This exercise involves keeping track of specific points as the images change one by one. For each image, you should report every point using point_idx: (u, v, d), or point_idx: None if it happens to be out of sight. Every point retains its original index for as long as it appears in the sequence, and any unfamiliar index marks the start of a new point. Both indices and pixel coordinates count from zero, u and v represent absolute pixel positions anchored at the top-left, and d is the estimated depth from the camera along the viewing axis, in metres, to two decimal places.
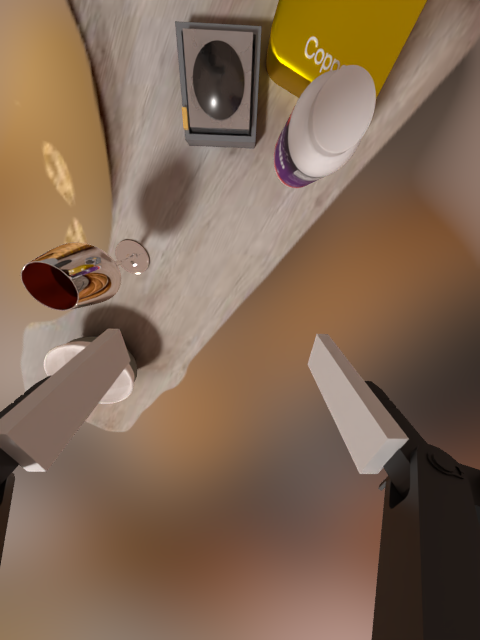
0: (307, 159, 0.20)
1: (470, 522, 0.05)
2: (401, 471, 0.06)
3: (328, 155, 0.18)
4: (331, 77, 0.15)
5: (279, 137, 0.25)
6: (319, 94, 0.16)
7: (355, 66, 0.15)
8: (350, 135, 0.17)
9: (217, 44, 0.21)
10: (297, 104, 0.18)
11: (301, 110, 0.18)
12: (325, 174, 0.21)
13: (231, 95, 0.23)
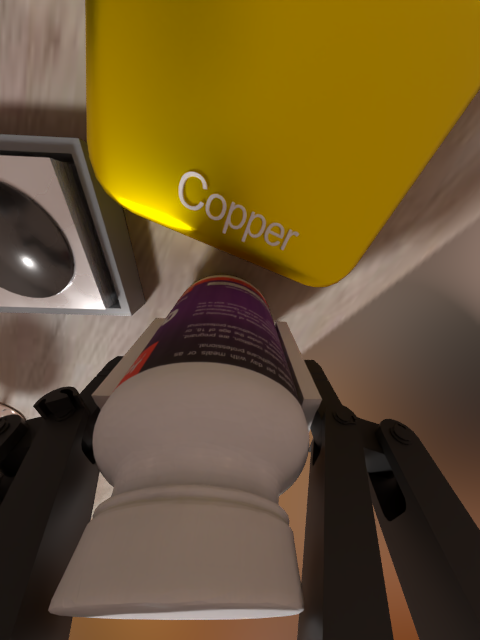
0: None
1: (359, 457, 0.06)
2: (318, 431, 0.08)
3: None
4: (70, 608, 0.03)
5: None
6: None
7: (172, 601, 0.03)
8: (230, 616, 0.05)
9: None
10: (93, 433, 0.06)
11: (98, 463, 0.06)
12: None
13: (49, 263, 0.11)
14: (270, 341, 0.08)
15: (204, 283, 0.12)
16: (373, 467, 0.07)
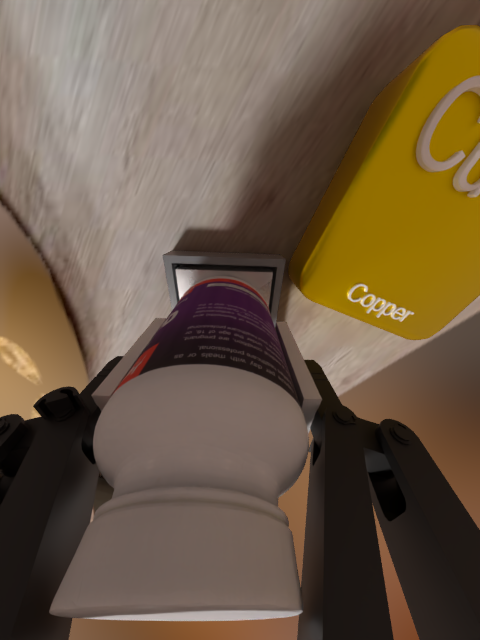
0: None
1: (359, 457, 0.06)
2: (318, 431, 0.08)
3: None
4: (71, 609, 0.03)
5: None
6: None
7: (172, 602, 0.03)
8: (230, 617, 0.05)
9: None
10: (94, 434, 0.06)
11: (98, 465, 0.06)
12: None
13: None
14: (269, 343, 0.08)
15: (204, 284, 0.12)
16: (373, 467, 0.07)
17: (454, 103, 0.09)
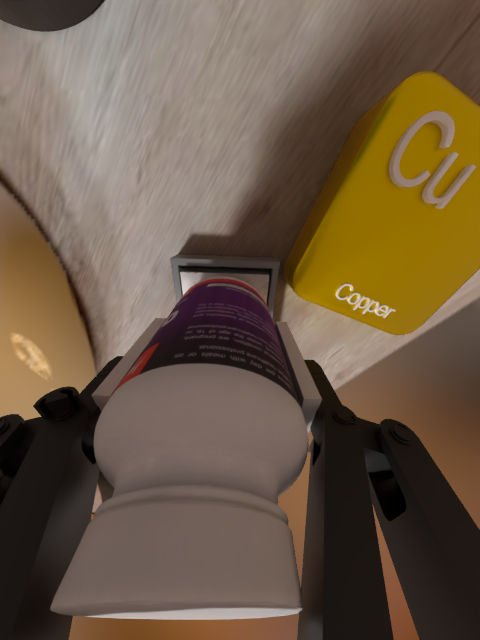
0: None
1: (359, 457, 0.06)
2: (318, 431, 0.08)
3: None
4: (72, 606, 0.03)
5: None
6: None
7: (172, 599, 0.03)
8: (230, 616, 0.05)
9: None
10: (94, 433, 0.06)
11: (99, 464, 0.06)
12: None
13: None
14: (269, 343, 0.08)
15: (204, 284, 0.12)
16: (373, 467, 0.07)
17: (418, 131, 0.11)
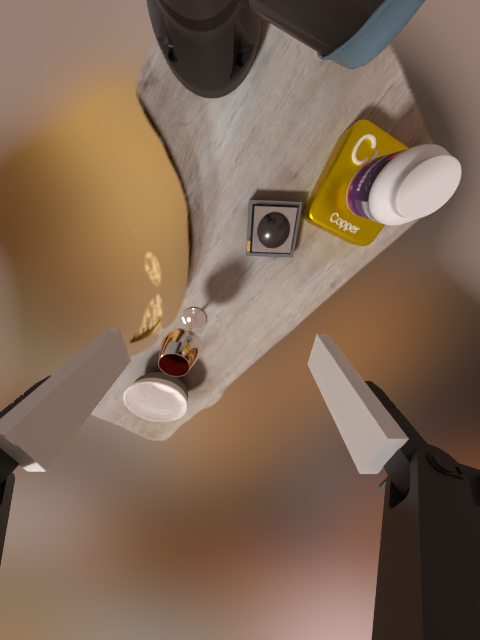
0: (379, 201, 0.22)
1: (470, 522, 0.05)
2: (401, 471, 0.06)
3: (395, 210, 0.21)
4: (440, 156, 0.18)
5: (372, 161, 0.26)
6: (424, 162, 0.18)
7: (458, 163, 0.18)
8: (417, 209, 0.20)
9: (275, 213, 0.34)
10: (405, 152, 0.20)
11: (404, 160, 0.20)
12: (381, 222, 0.24)
13: (280, 236, 0.36)
14: None
15: None
16: None
17: (362, 141, 0.29)
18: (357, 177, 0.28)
